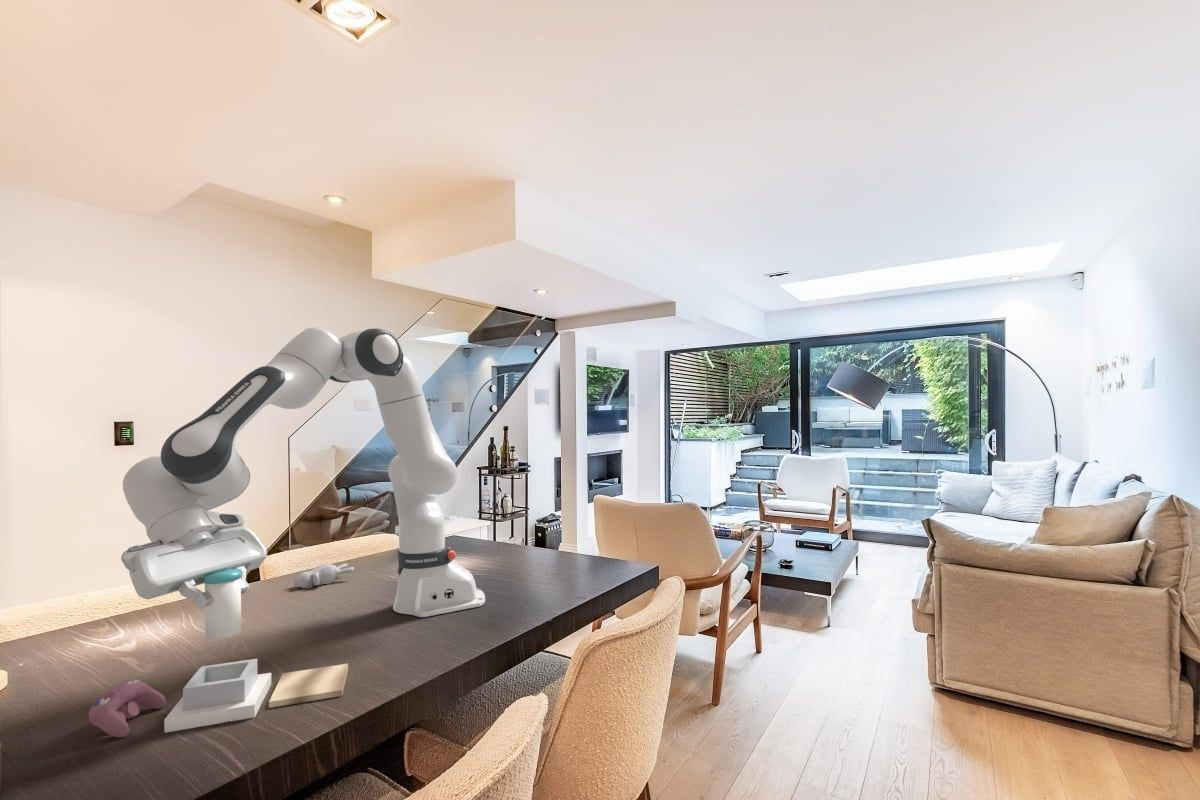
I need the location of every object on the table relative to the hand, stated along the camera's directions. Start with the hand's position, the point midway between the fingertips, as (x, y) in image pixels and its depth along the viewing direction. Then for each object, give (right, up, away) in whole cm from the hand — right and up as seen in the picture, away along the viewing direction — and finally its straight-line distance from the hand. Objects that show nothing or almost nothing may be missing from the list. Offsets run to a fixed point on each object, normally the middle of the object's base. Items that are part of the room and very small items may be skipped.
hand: (225, 598), depth 94 cm
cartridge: (0, -6, 0) cm, 6 cm away
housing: (0, -18, 0) cm, 18 cm away
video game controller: (-12, -18, -5) cm, 23 cm away
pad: (+11, -18, +6) cm, 22 cm away
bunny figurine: (-18, -21, +70) cm, 75 cm away
